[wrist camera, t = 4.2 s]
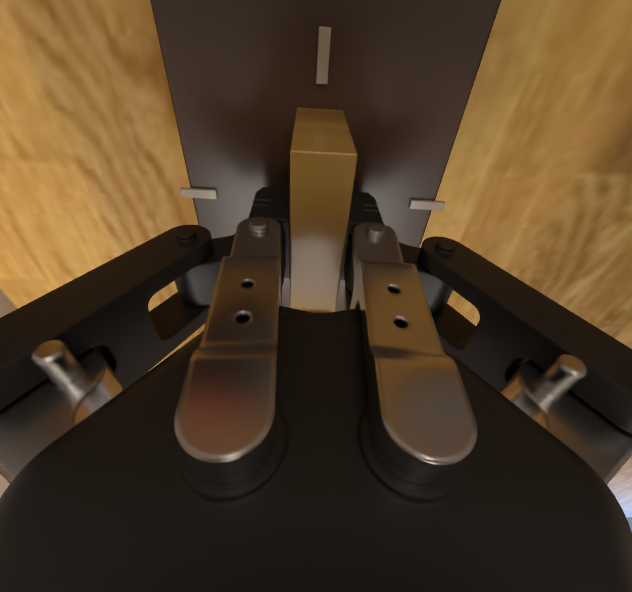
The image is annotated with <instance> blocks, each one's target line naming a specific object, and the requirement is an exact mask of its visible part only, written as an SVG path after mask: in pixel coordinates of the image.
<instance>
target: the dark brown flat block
mask: <svg viewBox="0 0 632 592" xmlns="http://www.w3.org/2000/svg"><path fill="white" fill-rule="evenodd" d="M150 1H151V5H152V10H153V15H154V19H155V24H156V29H157V33H158V38H159V43H160V47H161V52H162V57H163V61H164V66H165V71H166V75H167V80H168V85H169V89H170V94H171V99H172V103H173V108H174V113H175V117H176V122H177V127H178V131H179V136H180V141H181V145H182V150H183V155H184V159H185V164H186V169H187V173H188V178H189V183H190V187H191V188H182V187H181V188H180V192H181V196H182V197H184V198H193V201H194V206H195V211H196V215H197V220H198V225H199V226H202V227H205V228H207V229H208V230H209V231H210V233H211V237H212V239H213V238H220V237H227V236H231V235H234V234H235V232H236V228H237V225H238V224H239V223H240V222H241V221H243V220H245V219H248V217H249V214H250V211H251V207H252V204H253V201H254V197H255V194H256V192H257V191H259V190H260V189H261V188H263V187H271V188H274V186H275V181H276V176H277V175H284V176H290V149H291V142H292V136H293V129H294V123H295V116H296V109H297V108H298V107H302V108H318V109H333V110H343V112H344V115H345V118H346V121H347V124H348V127H349V130H350V133H351V136H352V140H353V143H354V146H355V149H356V152H357V155H358V157H357V164H356V171H355V178H354V179H356V182H357V185H358V189H359V192H366V193H369V194H370V195H371V196H373V197H374V198H375V200H376V202H377V207H378V208H379V212H380V214H381V217H382V220H383V223H384V225H387V226H389V227H390V228H392V229H393V230H394V231H395V232H396V234H397V238H398V241H399V242H400V243H402V244H405V245H409V246H414V247H418V248H419V247H420V244H421V241H422V238H423V235H424V232H425V229H426V226H427V223H428V220H429V217H430V214H431V211H432V210H441V211H442V210H443V207H444V204H445V202H444V201H435V198H436V195H437V192H438V189H439V186H440V183H441V180H442V177H443V174H444V171H445V168H446V165H447V162H448V159H449V156H450V153H451V150H452V147H453V144H454V141H455V138H456V135H457V132H458V129H459V126H460V123H461V120H462V117H463V114H464V111H465V108H466V105H467V102H468V99H469V96H470V93H471V90H472V87H473V84H474V81H475V78H476V75H477V72H478V69H479V66H480V63H481V59H482V56H483V53H484V50H485V47H486V44H487V41H488V38H489V35H490V32H491V29H492V26H493V23H494V20H495V17H496V14H497V11H498V8H499V5H500V2H501V0H150ZM344 288H345V280H340V284H339V291H338V298H337V305H336V312H337V311H343V310H344ZM282 306H284V307H289V308H290V278H284V283H283V286H282Z"/></svg>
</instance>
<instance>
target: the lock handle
mask: <svg viewBox="0 0 632 592" xmlns="http://www.w3.org/2000/svg"><path fill="white" fill-rule="evenodd" d="M357 157H358V155H357V152H356V149H355V146H354V143H353V140H352V136H351V133H350V130H349V127H348V124H347V121H346V118H345V115H344V112H343V110H333V109H318V108H302V107H298V108H297V109H296V116H295V123H294V129H293V136H292V142H291V149H290V308H293V309H298V310H302V311H307V312H311V313H316V314H324V313H331V312H336V305H337V298H338V291H339V284H340V277H341V270H342V263H343V256H344V249H345V242H346V235H347V227H348V220H349V213H350V206H351V199H352V192H353V185H354V178H355V171H356V164H357Z"/></svg>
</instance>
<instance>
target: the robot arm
mask: <svg viewBox="0 0 632 592" xmlns="http://www.w3.org/2000/svg"><path fill="white" fill-rule="evenodd" d="M284 278H290V176H284V175H277V176H276V181H275V186H274V188H271V187H263V188H261V189H260V190H259V191H257V192H256V194H255V197H254V201H253V204H252V207H251V211H250V214H249V217H248V219H245V220H243V221H241V222H240V223H239V224H238V225H237V228H236V232H235V234H234V235H231V236H227V237H220V238H213V239H212V237H211V233H210V231H209V230H208V229H207V228H205V227H202V226H199V225H183V226H178V227H175V228H172V229H170V230H168V231H166V232H164V233H162V234H160V235H158V236H157V237H155V238H153V239H151V240H149V241H147V242H145V243H143V244H141V245H139V246H137V247H135V248H134V249H132V250H130V251H128V252H126V253H124V254H122V255H120V256H118V257H116V258H114V259H112V260H111V261H109V262H107V263H105V264H103V265H101V266H99V267H97V268H95V269H93V270H91V271H90V272H88V273H86V274H84V275H82V276H80V277H78V278H76V279H74V280H72V281H70V282H68V283H67V284H65V285H63V286H61V287H59V288H57V289H55V290H53V291H51V292H49V293H47V294H45V295H44V296H42V297H40V298H38V299H36V300H34V301H32V302H30V303H28V304H26V305H24V306H22V307H21V308H19V309H17V310H15V311H13V312H11V313H9V314H7V315H5V316H3V317H2V318H0V474H1V475H2V476H3V477H4V478H5V479H6V480H7V481H8V482H9V483H10V485H9V486H8V488H7V489H6V490H5V492H4V493H3V495H2V496H1V498H0V592H632V532H631V529H630V526H629V523H628V521H627V519H626V517H625V514H624V512H623V510H622V508H621V506H620V505H619V503H618V501H617V499H616V498H615V496H614V494H613V493H612V492H611V490H610V489H609V487H608V486H607V484H608V483H609V482H610V481H611V479H612V478H613V477H614V476H615V475H616V473H617V472H618V471H619V470H620V469H621V467H622V466H623V465H624V464H625V463H626V461H627V460H628V459H629V458H630V457H631V455H632V349H630V348H629V347H627V346H626V345H624V344H622V343H621V342H619V341H618V340H616V339H614V338H613V337H611V336H609V335H608V334H606V333H605V332H603V331H601V330H600V329H598V328H597V327H595V326H593V325H592V324H590V323H588V322H587V321H585V320H584V319H582V318H580V317H579V316H577V315H575V314H574V313H572V312H571V311H569V310H567V309H566V308H564V307H563V306H561V305H559V304H558V303H556V302H554V301H553V300H551V299H550V298H548V297H546V296H545V295H543V294H542V293H540V292H538V291H537V290H535V289H533V288H532V287H530V286H529V285H527V284H525V283H524V282H522V281H520V280H519V279H517V278H516V277H514V276H512V275H511V274H509V273H508V272H506V271H504V270H503V269H501V268H499V267H498V266H496V265H495V264H493V263H491V262H490V261H488V260H487V259H485V258H483V257H482V256H480V255H478V254H477V253H475V252H474V251H472V250H470V249H469V248H467V247H465V246H464V245H462V244H461V243H459V242H457V241H455V240H452V239H449V238H445V237H430V238H427V239H425V240H424V241H423V243H422V246H421V248H418V247H414V246H409V245H405V244H402V243H400V242H399V241H398V238H397V234H396V232H395V231H394V230H393V229H392V228H390V227H389V226H387V225H384V223H383V220H382V217H381V214H380V212H379V208H378V207H377V202H376V200H375V198H374V197H373V196H371V195H370V194H369V193H366V192H359V189H358V185H357V182H356V179H354V185H353V192H352V199H351V206H350V213H349V220H348V227H347V235H346V242H345V249H344V256H343V263H342V270H341V277H340V280H345V288H344V310H343V311H337V312H331V313H324V314H316V313H311V312H307V311H302V310H298V309H293V308H289V307H284V306H282V286H283V283H284ZM174 280H175V283H176V286H177V289H178V292H177V293H176V294H174V295H173V296H171V297H170V298H168V299H167V300H166V301H164V302H163V303H161V304H160V305H158V306H157V307H156V308H154V309H153V310H151V311H150V312H149V310H148V303H149V300H150V299H151V297H152V296H153V295H154V294H155V293H156V292H158V291H159V290H161V289H162V288H164V287H165V286H167V285H168V284H170V283H171V282H173V281H174ZM453 290H454V291H455V292H457V293H458V294H460V295H461V296H462V297H464V298H465V299H466V300H468V301H469V302H470V303H472V304H473V305H474V306H475V307H476V308H477V309H478V311H479V314H480V321H479V323H478V325H477V326H475V325H474V324H472V323H471V322H470V321H469V320H467V319H466V318H465V317H464V316H462V315H461V314H460V313H458V312H457V311H456V310H455V309H453V308H452V307H451V306H450V305H448V304H447V301H448V299H449V297H450V295H451V293H452V291H453ZM203 324H205V327H204V331H203V332H202V333H200V334H199V335H197V336H196V337H195V338H193V339H192V340H191V341H189V342H188V343H187V344H185V345H184V346H183V347H181V348H180V349H178V350H177V351H176V352H174V353H173V354H172V355H170V356H169V357H168V358H166V359H165V360H164V361H162V362H161V363H160V364H158V365H157V366H155V365H156V364H157V363H159V362H160V361H161V360H162V359H163V358H164V357H166V356H167V355H168V354H169V353H170V352H172V351H173V350H174V349H175V348H176V347H177V346H179V345H180V344H181V343H182V342H183V341H185V340H186V339H187V338H188V337H189V336H190V335H192V334H193V333H194V332H195V331H196V330H198V329H199V328H200V327H201V326H202V325H203ZM154 366H155V367H154ZM153 367H154V368H153ZM151 368H153V369H151ZM150 369H151V370H150ZM149 370H150V371H149ZM148 371H149V372H148ZM144 374H145V375H144Z"/></svg>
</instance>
